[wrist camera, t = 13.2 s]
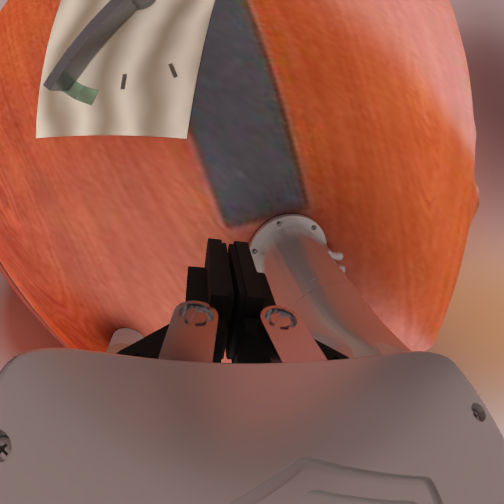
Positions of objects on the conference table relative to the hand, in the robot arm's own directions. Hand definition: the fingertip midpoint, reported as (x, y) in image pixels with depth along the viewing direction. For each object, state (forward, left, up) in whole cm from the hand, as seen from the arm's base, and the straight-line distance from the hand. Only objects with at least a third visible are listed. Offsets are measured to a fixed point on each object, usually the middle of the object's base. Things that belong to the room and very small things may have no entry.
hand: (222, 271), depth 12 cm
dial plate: (+14, -14, -26) cm, 33 cm away
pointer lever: (+16, -16, -24) cm, 33 cm away
